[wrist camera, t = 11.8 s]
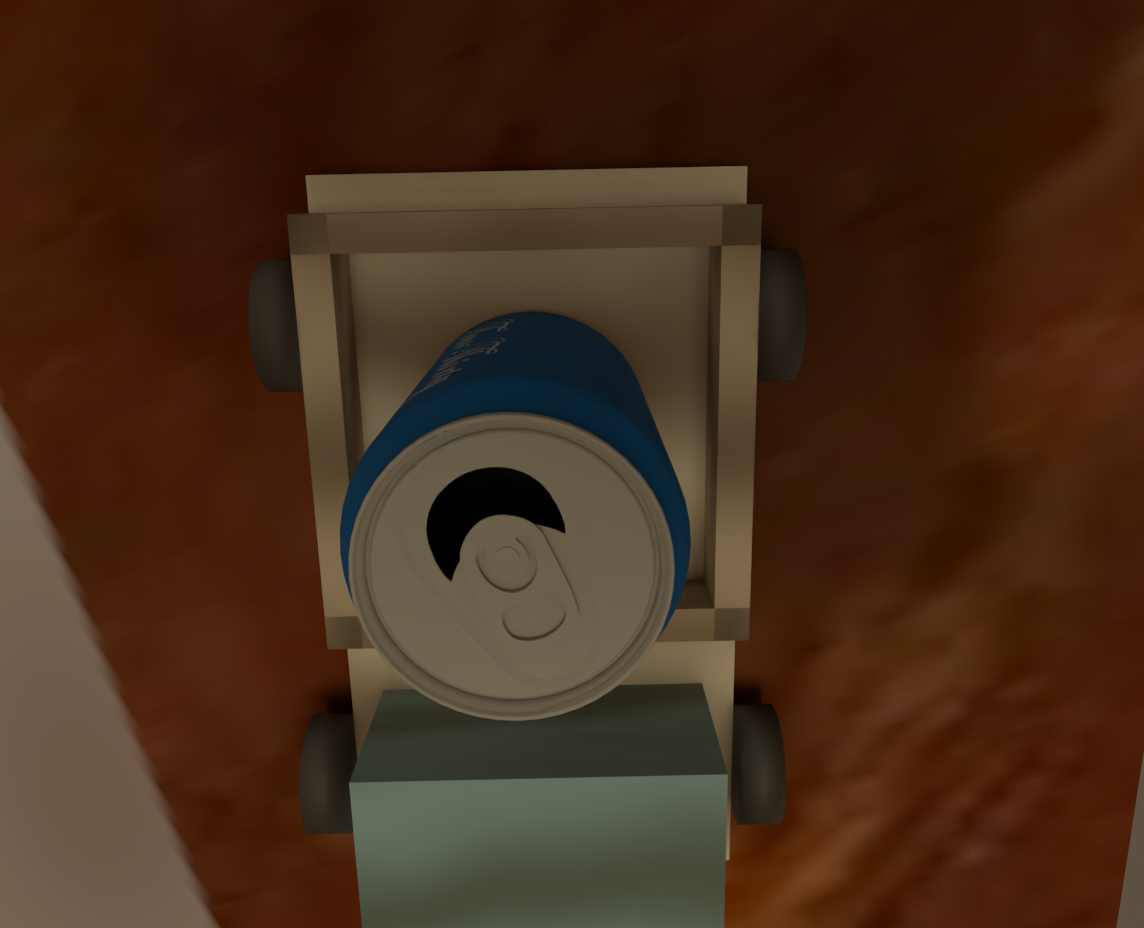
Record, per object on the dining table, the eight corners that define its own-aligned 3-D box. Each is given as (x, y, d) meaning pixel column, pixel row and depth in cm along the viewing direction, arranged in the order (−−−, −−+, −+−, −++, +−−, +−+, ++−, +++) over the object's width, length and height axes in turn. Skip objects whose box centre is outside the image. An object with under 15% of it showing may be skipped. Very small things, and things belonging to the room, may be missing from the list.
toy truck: (273, 177, 28) (193, 171, 22) (781, 166, 28) (842, 157, 22) (338, 845, 33) (289, 987, 27) (758, 836, 33) (800, 975, 27)
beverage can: (590, 270, 27) (610, 324, 15) (678, 474, 29) (756, 661, 17) (383, 364, 28) (253, 483, 16) (480, 558, 29) (425, 793, 18)
